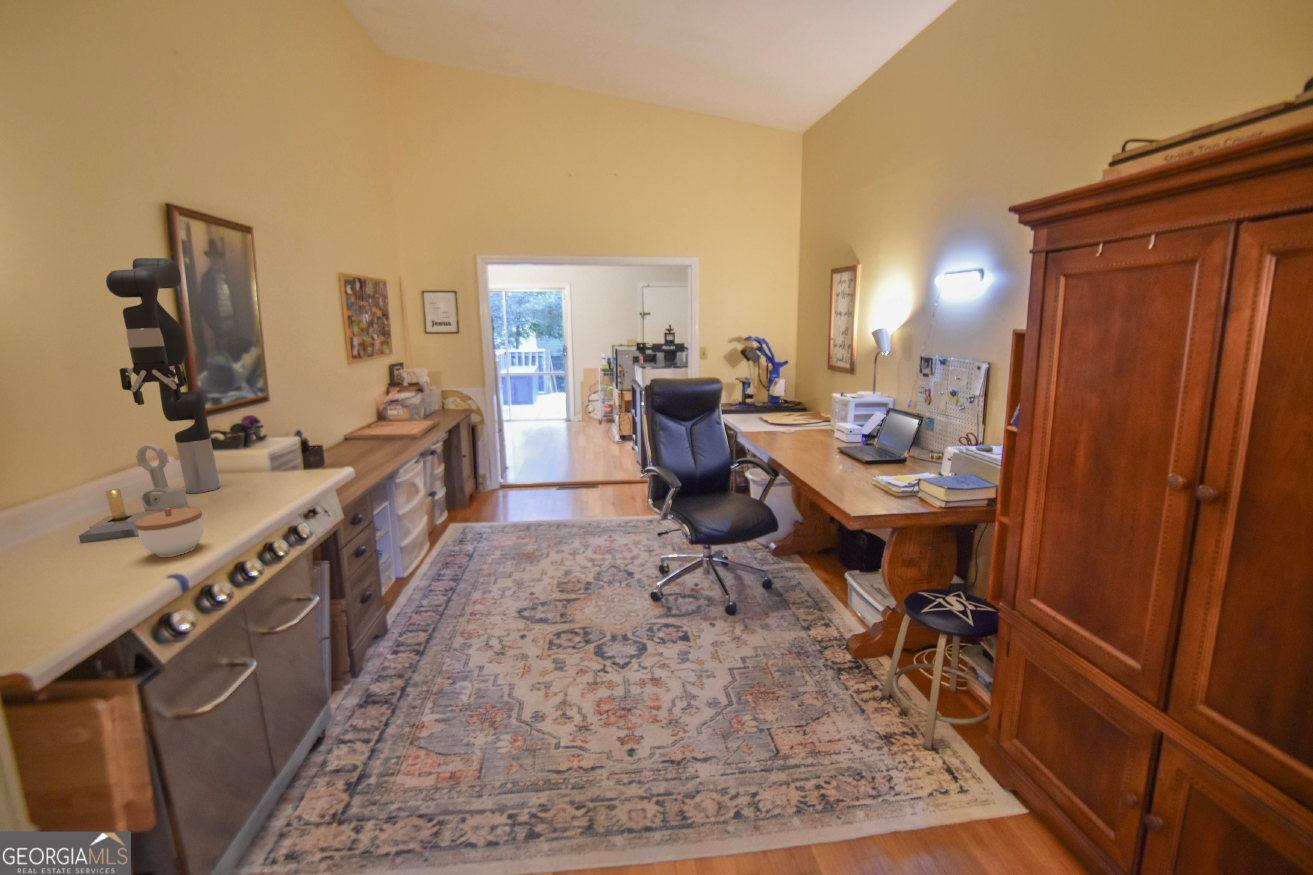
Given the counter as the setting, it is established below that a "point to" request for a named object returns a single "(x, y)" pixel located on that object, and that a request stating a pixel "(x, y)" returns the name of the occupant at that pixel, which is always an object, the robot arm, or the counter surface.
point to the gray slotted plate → (115, 527)
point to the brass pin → (116, 505)
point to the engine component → (159, 483)
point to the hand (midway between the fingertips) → (159, 403)
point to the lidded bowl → (171, 531)
